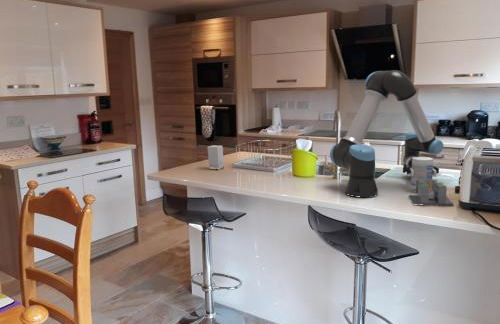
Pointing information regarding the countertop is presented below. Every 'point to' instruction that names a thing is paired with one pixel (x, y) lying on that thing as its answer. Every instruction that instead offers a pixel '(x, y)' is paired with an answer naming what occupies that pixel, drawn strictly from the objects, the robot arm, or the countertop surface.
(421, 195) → the grey notched block
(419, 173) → the supplement tub
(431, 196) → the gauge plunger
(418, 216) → the countertop surface
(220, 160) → the skincare box
